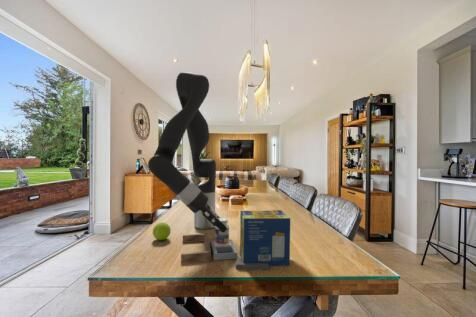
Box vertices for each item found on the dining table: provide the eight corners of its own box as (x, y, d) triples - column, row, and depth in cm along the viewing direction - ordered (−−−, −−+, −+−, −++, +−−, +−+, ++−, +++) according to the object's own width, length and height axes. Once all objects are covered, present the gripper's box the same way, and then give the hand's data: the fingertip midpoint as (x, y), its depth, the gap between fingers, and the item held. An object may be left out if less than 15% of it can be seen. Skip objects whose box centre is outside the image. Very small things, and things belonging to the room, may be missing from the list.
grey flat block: (236, 269, 72) (236, 264, 72) (236, 262, 76) (237, 257, 76) (268, 270, 71) (268, 265, 71) (267, 263, 76) (267, 258, 76)
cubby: (180, 262, 76) (181, 254, 76) (182, 241, 95) (182, 234, 95) (210, 260, 78) (211, 252, 78) (206, 239, 97) (206, 233, 97)
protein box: (239, 253, 83) (239, 210, 83) (281, 252, 85) (282, 210, 84) (242, 267, 73) (243, 218, 73) (290, 266, 74) (291, 217, 74)
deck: (214, 260, 78) (214, 253, 78) (210, 246, 89) (210, 240, 89) (237, 258, 79) (237, 251, 79) (231, 245, 91) (231, 239, 91)
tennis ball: (172, 240, 95) (172, 223, 95) (154, 243, 91) (154, 226, 91) (168, 235, 101) (168, 219, 101) (151, 238, 97) (151, 221, 97)
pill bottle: (215, 240, 90) (215, 217, 90) (228, 240, 90) (228, 217, 90) (214, 245, 84) (215, 221, 84) (229, 245, 85) (229, 221, 85)
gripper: (201, 192, 78) (234, 224, 81) (199, 187, 92) (227, 214, 95) (184, 208, 77) (218, 241, 80) (185, 200, 91) (214, 228, 94)
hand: (223, 226), depth 87 cm, fingers open, 8 cm apart
